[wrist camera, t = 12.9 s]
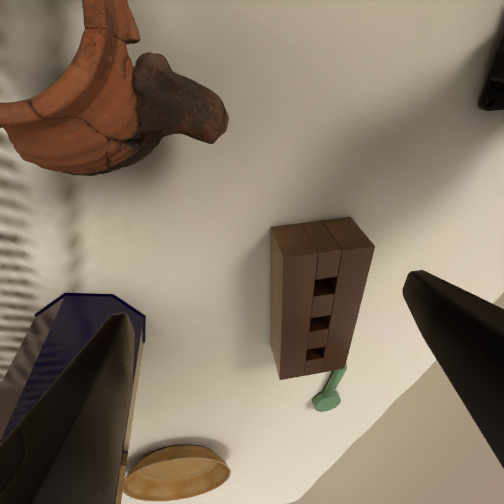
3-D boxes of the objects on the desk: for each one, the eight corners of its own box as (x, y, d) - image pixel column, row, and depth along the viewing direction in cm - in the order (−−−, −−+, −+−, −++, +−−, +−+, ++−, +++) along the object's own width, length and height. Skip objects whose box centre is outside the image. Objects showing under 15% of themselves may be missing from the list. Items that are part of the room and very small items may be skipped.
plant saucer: (207, 481, 51) (207, 500, 49) (113, 482, 46) (110, 504, 44) (245, 438, 44) (247, 459, 42) (140, 434, 39) (137, 457, 37)
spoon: (335, 368, 35) (311, 414, 41) (363, 366, 36) (336, 410, 42) (331, 360, 36) (309, 405, 42) (358, 357, 37) (333, 402, 43)
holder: (351, 217, 24) (375, 246, 21) (329, 335, 33) (344, 368, 30) (270, 226, 24) (283, 258, 21) (270, 345, 33) (279, 380, 29)
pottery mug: (28, 167, 19) (-147, 131, 11) (44, -1, 18) (-139, -186, 9) (222, 204, 19) (198, 197, 11) (251, 40, 18) (249, -106, 10)
